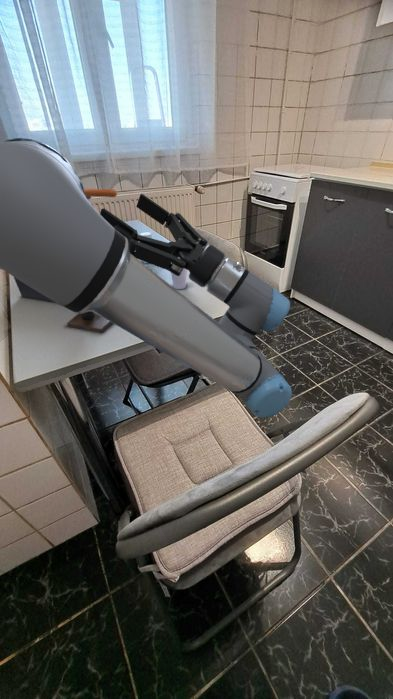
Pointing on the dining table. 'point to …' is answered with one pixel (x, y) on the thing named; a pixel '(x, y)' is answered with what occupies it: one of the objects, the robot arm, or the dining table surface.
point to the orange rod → (100, 192)
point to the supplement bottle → (146, 236)
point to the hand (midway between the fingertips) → (121, 207)
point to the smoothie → (179, 279)
